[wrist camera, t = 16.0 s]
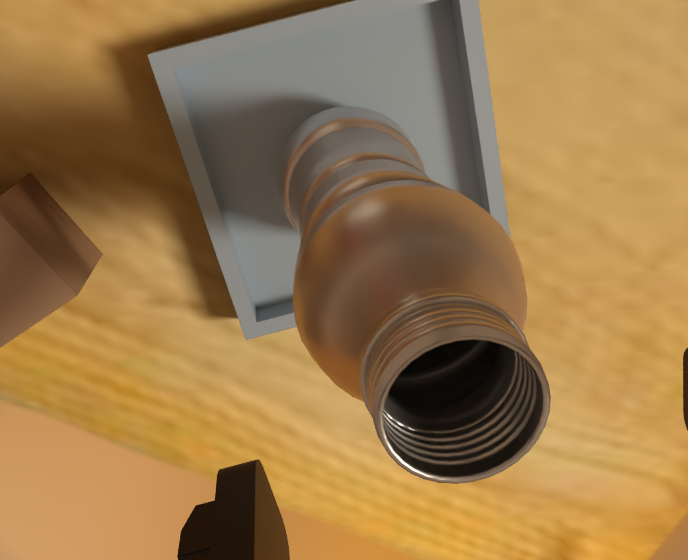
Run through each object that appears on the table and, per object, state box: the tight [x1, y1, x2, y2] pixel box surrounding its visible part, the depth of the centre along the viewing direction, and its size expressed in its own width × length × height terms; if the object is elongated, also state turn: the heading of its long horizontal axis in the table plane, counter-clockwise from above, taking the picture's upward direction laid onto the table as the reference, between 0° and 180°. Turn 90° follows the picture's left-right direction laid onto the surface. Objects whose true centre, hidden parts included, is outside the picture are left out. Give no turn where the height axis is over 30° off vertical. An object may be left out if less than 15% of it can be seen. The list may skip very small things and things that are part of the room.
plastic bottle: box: [276, 106, 551, 484], centre depth 22 cm, size 6×7×20 cm
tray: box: [147, 0, 510, 340], centre depth 31 cm, size 14×14×2 cm
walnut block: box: [0, 173, 103, 348], centre depth 30 cm, size 5×5×5 cm
